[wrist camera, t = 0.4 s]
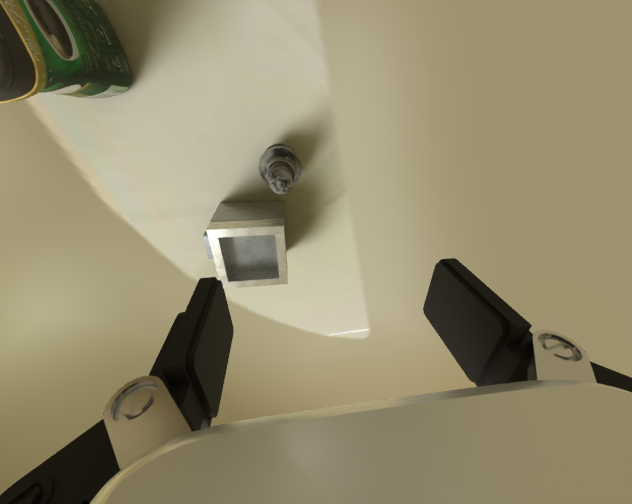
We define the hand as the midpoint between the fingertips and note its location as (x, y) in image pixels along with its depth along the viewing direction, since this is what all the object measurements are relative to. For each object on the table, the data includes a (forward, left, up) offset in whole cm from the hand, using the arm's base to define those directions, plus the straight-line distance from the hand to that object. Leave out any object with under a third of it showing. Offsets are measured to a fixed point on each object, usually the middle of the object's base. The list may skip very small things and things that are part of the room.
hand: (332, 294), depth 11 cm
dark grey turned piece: (+1, -2, -32) cm, 32 cm away
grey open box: (+14, -8, -32) cm, 36 cm away
